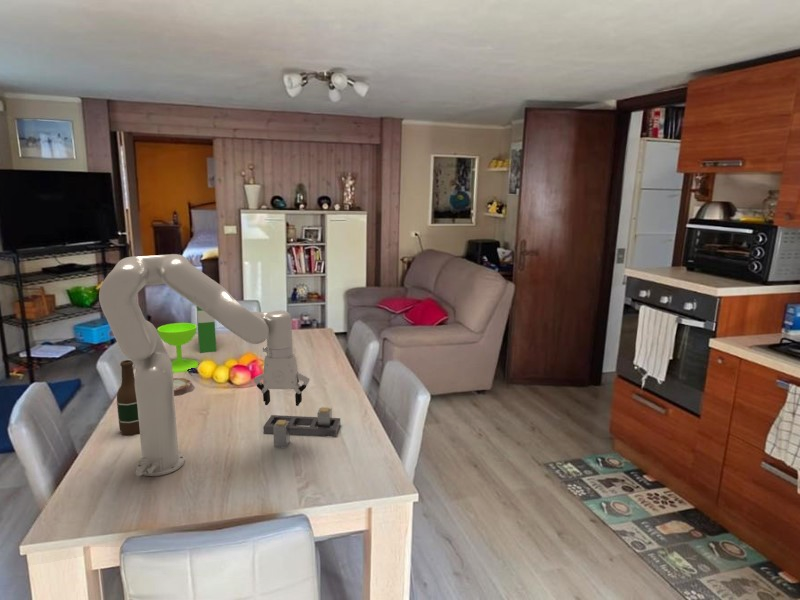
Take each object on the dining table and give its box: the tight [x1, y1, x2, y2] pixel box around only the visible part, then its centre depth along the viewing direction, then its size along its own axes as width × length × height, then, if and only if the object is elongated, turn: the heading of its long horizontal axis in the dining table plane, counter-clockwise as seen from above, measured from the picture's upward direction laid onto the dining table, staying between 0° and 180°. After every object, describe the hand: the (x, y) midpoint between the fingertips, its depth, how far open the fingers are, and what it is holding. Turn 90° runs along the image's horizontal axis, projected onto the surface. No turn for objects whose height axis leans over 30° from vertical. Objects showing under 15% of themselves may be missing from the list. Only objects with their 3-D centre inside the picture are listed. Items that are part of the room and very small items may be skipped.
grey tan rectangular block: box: [317, 406, 333, 428], centre depth 174 cm, size 4×4×8 cm
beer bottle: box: [116, 359, 140, 436], centre depth 169 cm, size 8×8×24 cm
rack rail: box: [263, 414, 341, 438], centre depth 175 cm, size 24×9×2 cm, turn 87°
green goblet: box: [156, 322, 200, 374], centre depth 231 cm, size 16×16×18 cm
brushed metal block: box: [273, 420, 291, 448], centre depth 164 cm, size 4×4×8 cm
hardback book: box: [195, 305, 217, 354], centre depth 258 cm, size 18×7×24 cm, turn 23°
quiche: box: [173, 377, 195, 397], centre depth 207 cm, size 21×20×4 cm
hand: (282, 403), depth 162 cm, fingers open, 9 cm apart
